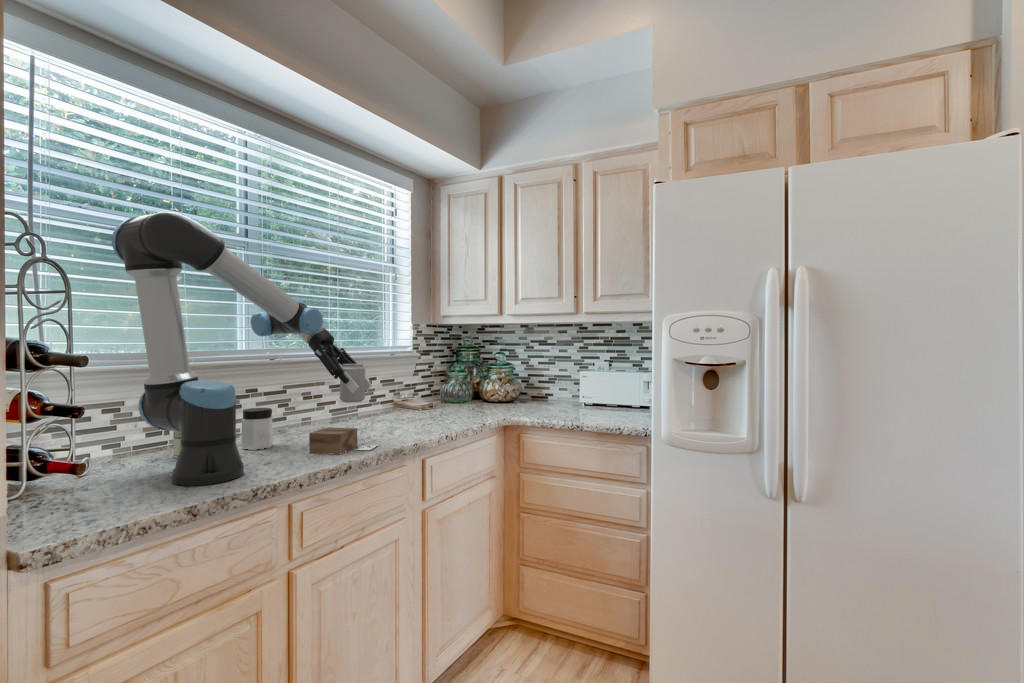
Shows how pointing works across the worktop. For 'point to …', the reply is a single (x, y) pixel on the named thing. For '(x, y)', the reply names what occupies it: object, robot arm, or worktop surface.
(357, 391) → the can
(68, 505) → the worktop surface
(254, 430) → the jar
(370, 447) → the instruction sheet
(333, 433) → the walnut block
